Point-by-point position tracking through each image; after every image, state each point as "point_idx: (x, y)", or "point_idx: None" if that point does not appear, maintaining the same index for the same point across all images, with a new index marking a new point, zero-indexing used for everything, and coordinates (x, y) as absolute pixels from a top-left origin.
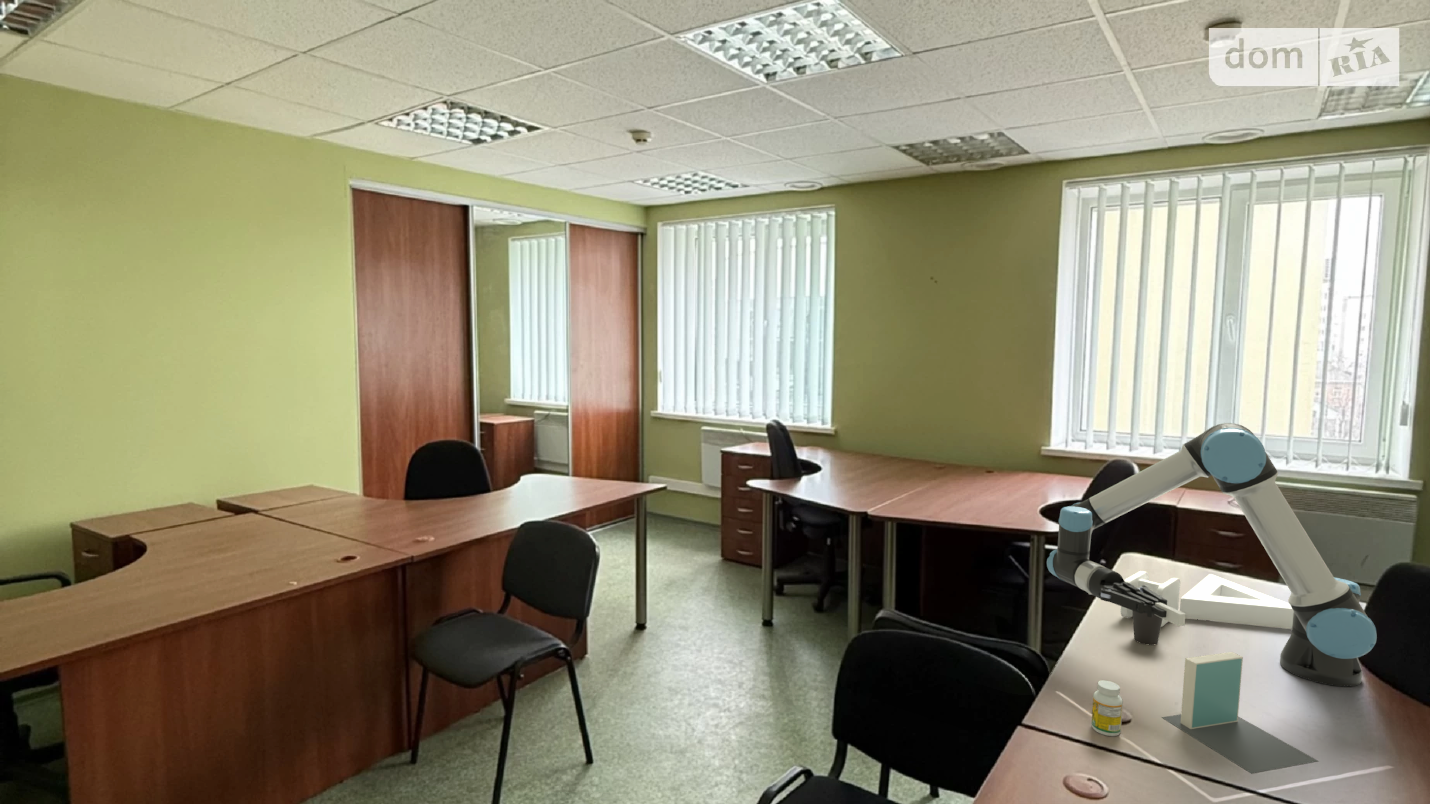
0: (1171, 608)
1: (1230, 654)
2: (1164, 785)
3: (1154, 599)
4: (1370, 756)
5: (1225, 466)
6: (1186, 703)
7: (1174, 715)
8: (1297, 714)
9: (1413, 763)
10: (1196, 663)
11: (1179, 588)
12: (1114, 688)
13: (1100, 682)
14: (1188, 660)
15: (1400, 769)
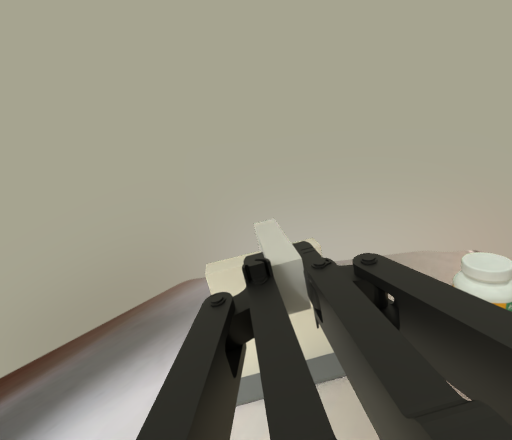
0: (269, 236)
1: (219, 267)
2: (403, 259)
3: (269, 299)
4: (156, 314)
5: None
6: None
7: (334, 375)
8: (111, 398)
9: (134, 309)
10: (310, 238)
11: None
12: (472, 255)
13: (507, 265)
14: (318, 244)
15: (158, 301)
